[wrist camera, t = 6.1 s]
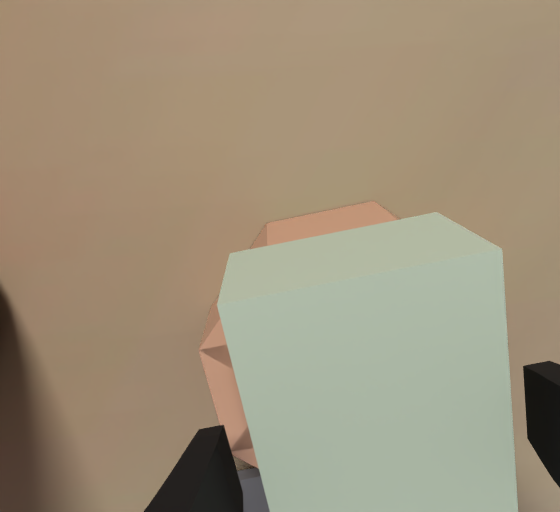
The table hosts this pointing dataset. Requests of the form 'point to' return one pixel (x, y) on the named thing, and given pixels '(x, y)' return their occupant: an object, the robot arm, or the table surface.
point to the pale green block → (375, 369)
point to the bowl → (213, 336)
